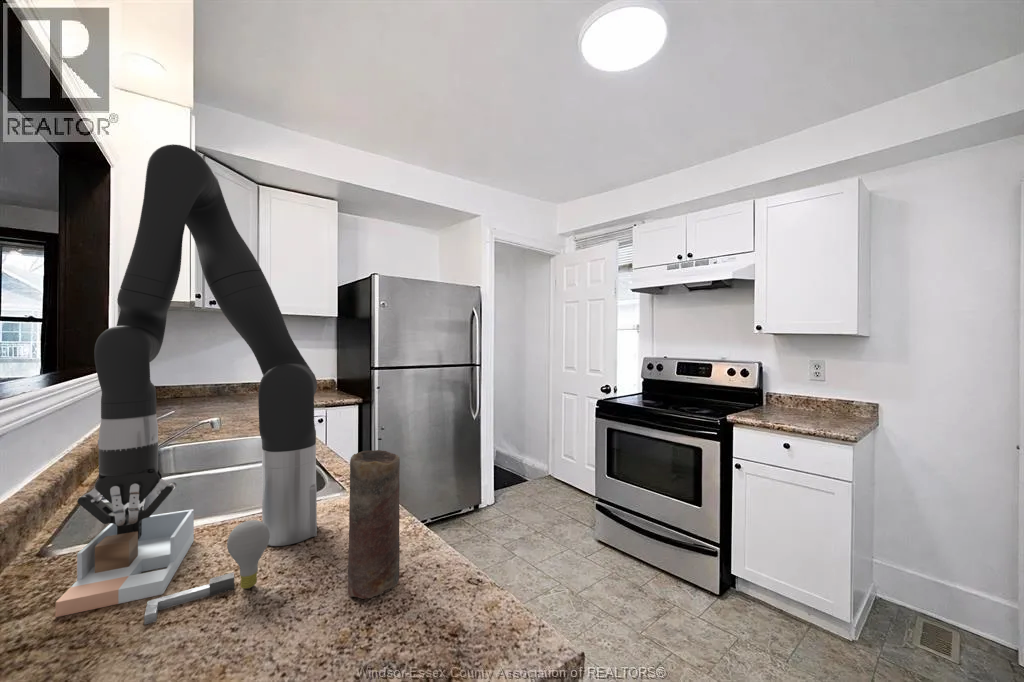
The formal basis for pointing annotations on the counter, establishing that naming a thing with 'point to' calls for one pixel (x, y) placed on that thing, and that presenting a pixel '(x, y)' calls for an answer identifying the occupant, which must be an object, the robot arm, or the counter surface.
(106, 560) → the walnut cube
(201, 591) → the hook tool
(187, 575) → the counter surface
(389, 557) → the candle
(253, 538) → the light bulb
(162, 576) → the cubby
